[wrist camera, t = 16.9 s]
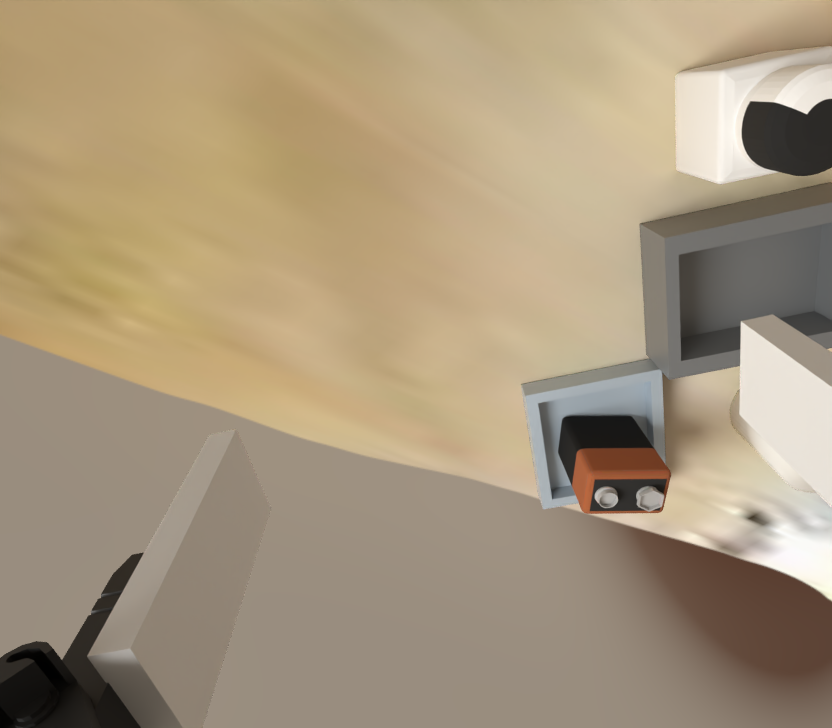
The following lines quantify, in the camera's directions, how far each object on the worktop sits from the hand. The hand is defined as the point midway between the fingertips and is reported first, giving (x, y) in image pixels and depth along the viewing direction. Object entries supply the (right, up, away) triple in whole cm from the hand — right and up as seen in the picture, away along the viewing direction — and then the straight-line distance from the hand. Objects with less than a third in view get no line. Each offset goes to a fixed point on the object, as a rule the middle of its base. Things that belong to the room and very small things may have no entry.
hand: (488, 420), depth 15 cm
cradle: (+25, +9, +34) cm, 43 cm away
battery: (+15, -5, +40) cm, 43 cm away
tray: (+15, -5, +41) cm, 44 cm away
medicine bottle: (+21, +20, +29) cm, 41 cm away
